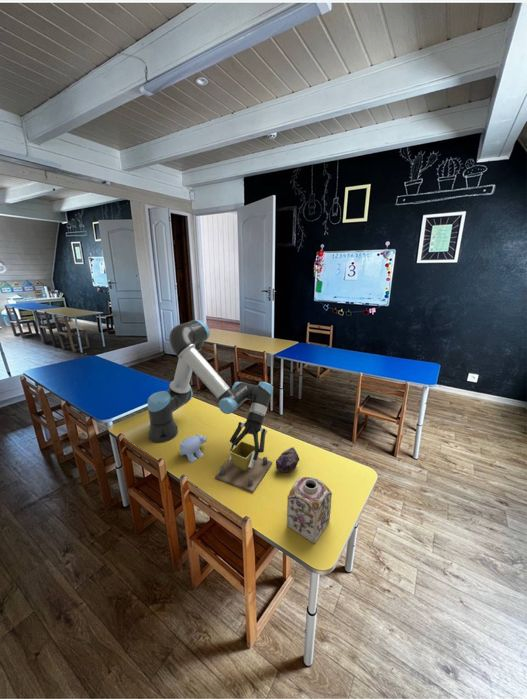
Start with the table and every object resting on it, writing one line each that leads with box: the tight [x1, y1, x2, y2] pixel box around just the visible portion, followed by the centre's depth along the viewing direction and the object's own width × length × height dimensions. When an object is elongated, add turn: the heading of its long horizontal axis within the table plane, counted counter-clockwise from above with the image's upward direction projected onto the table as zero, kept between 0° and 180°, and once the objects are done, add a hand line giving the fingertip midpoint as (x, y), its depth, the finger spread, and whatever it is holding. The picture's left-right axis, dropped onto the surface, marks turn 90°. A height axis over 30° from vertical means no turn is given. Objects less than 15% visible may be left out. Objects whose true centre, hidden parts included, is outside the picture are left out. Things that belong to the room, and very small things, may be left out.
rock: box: [275, 447, 300, 474], centre depth 127 cm, size 12×9×10 cm
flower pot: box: [229, 441, 255, 471], centre depth 125 cm, size 9×9×9 cm
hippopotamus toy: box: [179, 434, 207, 463], centre depth 138 cm, size 11×15×10 cm
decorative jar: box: [286, 476, 333, 544], centre depth 99 cm, size 12×12×18 cm
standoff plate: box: [214, 456, 273, 494], centre depth 127 cm, size 19×19×4 cm
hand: (240, 463), depth 123 cm, fingers closed on flower pot, 9 cm apart
